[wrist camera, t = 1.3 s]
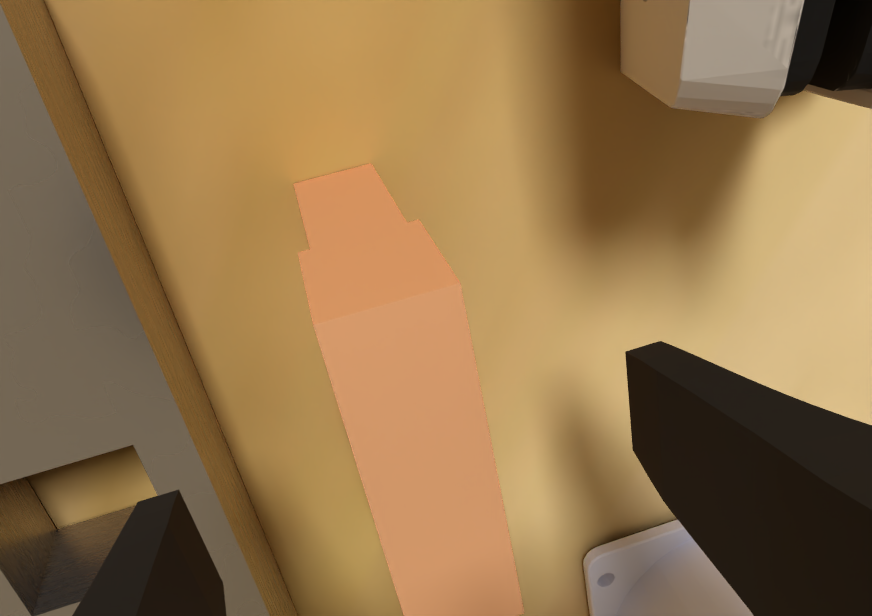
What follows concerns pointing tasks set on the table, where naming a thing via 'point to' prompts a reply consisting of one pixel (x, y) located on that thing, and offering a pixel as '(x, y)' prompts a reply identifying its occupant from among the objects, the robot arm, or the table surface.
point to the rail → (93, 350)
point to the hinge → (747, 52)
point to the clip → (408, 396)
